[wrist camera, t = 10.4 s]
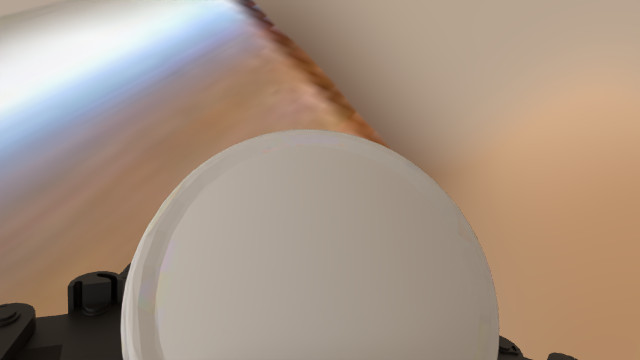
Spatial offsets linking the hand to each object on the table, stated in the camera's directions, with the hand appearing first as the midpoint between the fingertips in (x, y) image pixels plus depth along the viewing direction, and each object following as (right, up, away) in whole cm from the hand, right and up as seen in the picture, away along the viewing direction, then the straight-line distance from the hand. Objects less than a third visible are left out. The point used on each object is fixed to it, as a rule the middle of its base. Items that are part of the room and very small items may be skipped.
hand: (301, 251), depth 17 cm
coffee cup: (-1, -5, +2) cm, 5 cm away
